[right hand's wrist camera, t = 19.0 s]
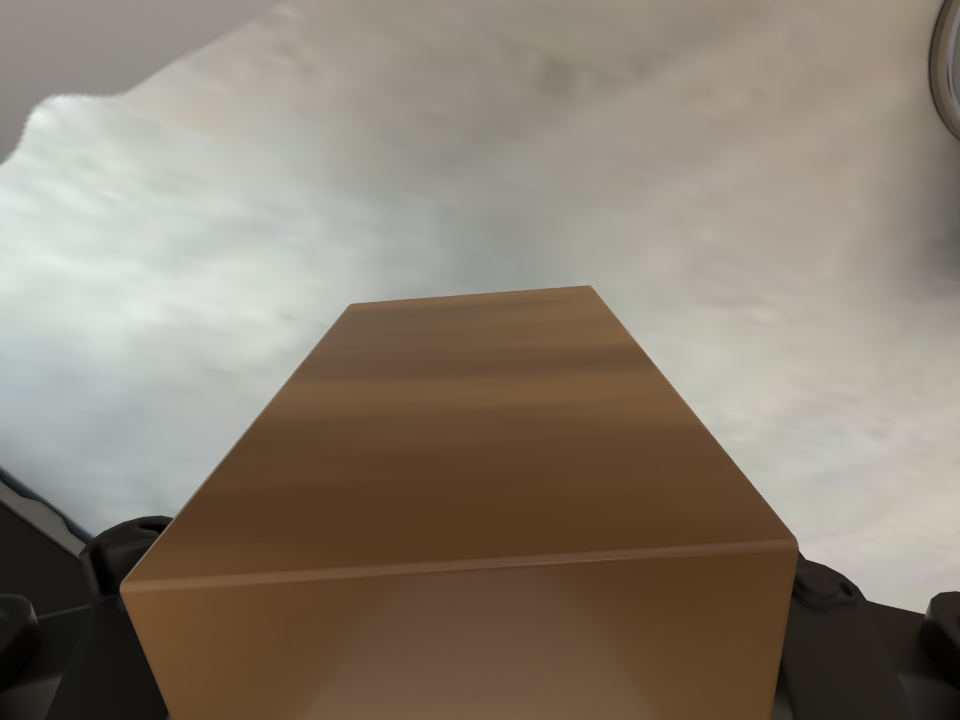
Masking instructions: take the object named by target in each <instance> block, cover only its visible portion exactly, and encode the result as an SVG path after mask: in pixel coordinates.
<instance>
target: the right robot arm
mask: <svg viewBox="0 0 960 720" xmlns="http://www.w3.org/2000/svg"><path fill="white" fill-rule="evenodd" d="M931 84H932V90H933V95H934V99H935V103H936V106H937V108H938V110H939V113H940V115H941V117H942V119H943V120H944V122H945V124H946V125H947V126H948V128H949V129H950V131H951V132H952V133H953V134H954V135H955V136H956V137H957V138H958V139H960V0H947V1H946V3H945V5H944V8H943V10H942V13H941V15H940V18H939V21H938V25H937V28H936V31H935V36H934V41H933V46H932V54H931ZM173 519H174V518H170V517H165V516H149V517H141V518H137V519H134V520H130V521H126V522H123V523H121V524H118V525H116V526H114V527H112V528H110V529H108V530H106V531H104V532H102V533H101V534H99V535H98V536H97V537H95V538H94V539H92V540H91V541H90V542H88V543H87V545H86V546H85V547H84V549H83V550H82V551H81V552H80V554H79V558H80V561H81V564H82V567H83V570H84V573H85V576H86V579H87V582H88V585H89V588H90V591H91V595H92V598H93V603H91V604H88V605H84V606H80V607H76V608H71V609H67V610H63V611H58V612H54V613H50V614H45V615H41V616H36V615H35V612H34V610H33V607H32V604H31V602H30V601H29V600H28V599H26V598H25V597H24V596H22V595H16V594H0V720H172V719H171V717H170V714H169V712H168V709H167V707H166V705H165V702H164V700H163V697H162V695H161V692H160V690H159V687H158V685H157V683H156V680H155V678H154V675H153V673H152V670H151V668H150V665H149V663H148V661H147V658H146V656H145V653H144V651H143V648H142V646H141V643H140V641H139V639H138V636H137V634H136V631H135V629H134V626H133V624H132V621H131V619H130V617H129V614H128V612H127V609H126V607H125V604H124V602H123V599H122V597H121V595H120V585H121V582H122V581H123V580H124V578H125V577H126V576H127V575H128V574H129V572H130V571H131V570H132V569H133V567H134V566H135V565H136V564H137V563H138V561H139V560H140V559H141V558H142V557H143V555H144V554H145V553H146V552H147V550H148V549H149V548H150V547H151V546H152V544H153V543H154V542H155V541H156V540H157V538H158V537H159V536H160V535H161V533H162V532H163V531H164V530H165V529H166V527H167V526H168V525H169V524H170V522H171V521H172V520H173ZM771 720H960V592H957V591H954V592H943V593H939V594H938V595H936V596H935V597H933V598H932V599H931V601H930V603H929V606H928V609H927V611H926V614H921V613H917V612H912V611H908V610H903V609H899V608H895V607H890V606H886V605H881V604H877V603H874V602H870V601H867V600H866V599H865V597H864V596H863V594H862V593H861V591H860V590H859V588H858V587H857V586H856V585H855V584H853V583H852V582H851V581H850V580H849V579H847V578H846V577H845V576H844V575H842V574H840V573H838V572H837V571H835V570H833V569H831V568H829V567H827V566H825V565H822V564H819V563H816V562H812V561H809V560H806V559H805V558H804V556H803V555H802V554H801V553H800V551H799V552H798V558H797V564H796V570H795V576H794V582H793V588H792V594H791V600H790V606H789V612H788V618H787V624H786V630H785V637H784V643H783V649H782V655H781V661H780V667H779V673H778V679H777V685H776V691H775V697H774V703H773V709H772V715H771Z"/></svg>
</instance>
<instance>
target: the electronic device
mask: <svg viewBox="0 0 960 720" xmlns="http://www.w3.org/2000/svg"><path fill="white" fill-rule="evenodd" d="M85 546H86V544H85V543H83V542H82V541H81V540H79V539H78V538H76V537H75V536H74V535H72V534H71V533H70V532H69V531H68V529H67V527H66V525H65V523H64V521H63V519H62V518H61V517H60V516H59V515H57V514H56V513H55V512H53V511H52V510H51V509H49V508H48V507H47V506H45V505H44V504H43V503H41V502H39V501H35V500H32V499H28V498H24V497H21V496H20V495H18V494H17V493H15V492H14V491H13V490H11V489H10V488H9V487H7V486H6V485H5V484H3V483H2V482H1V480H0V594H16V595H22V596H24V597H25V598H26V599H28V600H29V601H30V602H31V604H32V607H33V610H34V612H35V615H36V616H41V615H45V614H50V613H54V612H58V611H63V610H67V609H71V608H76V607H80V606H84V605H88V604H91V603H93V598H92V595H91V591H90V588H89V585H88V582H87V579H86V576H85V573H84V570H83V567H82V564H81V561H80V558H79V554H80V552H81V551H82V550H83V549H84V547H85Z"/></svg>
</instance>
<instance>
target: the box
mask: <svg viewBox="0 0 960 720" xmlns="http://www.w3.org/2000/svg"><path fill="white" fill-rule="evenodd" d="M798 552H799V546H798V542H797V540H796V538H795V536H794V535H793V534H792V533H791V531H790V530H789V529H788V528H787V527H786V525H785V524H784V523H783V522H782V520H781V519H780V518H779V517H778V515H777V514H776V513H775V512H774V511H773V509H772V508H771V507H770V506H769V504H768V503H767V502H766V501H765V499H764V498H763V497H762V496H761V495H760V493H759V492H758V491H757V490H756V488H755V487H754V486H753V485H752V483H751V482H750V481H749V480H748V479H747V477H746V476H745V475H744V474H743V472H742V471H741V470H740V469H739V467H738V466H737V465H736V464H735V463H734V461H733V460H732V459H731V458H730V456H729V455H728V454H727V453H726V452H725V450H724V449H723V448H722V447H721V445H720V444H719V443H718V442H717V440H716V439H715V438H714V437H713V436H712V434H711V433H710V432H709V431H708V429H707V428H706V427H705V426H704V424H703V423H702V422H701V421H700V420H699V418H698V417H697V416H696V415H695V413H694V412H693V411H692V410H691V408H690V407H689V406H688V405H687V404H686V402H685V401H684V400H683V399H682V397H681V396H680V395H679V394H678V392H677V391H676V390H675V389H674V388H673V386H672V385H671V384H670V383H669V381H668V380H667V379H666V378H665V376H664V375H663V374H662V373H661V372H660V370H659V369H658V368H657V367H656V365H655V364H654V363H653V362H652V360H651V359H650V358H649V357H648V356H647V354H646V353H645V352H644V351H643V349H642V348H641V347H640V346H639V344H638V343H637V342H636V341H635V340H634V338H633V337H632V336H631V335H630V333H629V332H628V331H627V330H626V328H625V327H624V326H623V325H622V324H621V322H620V321H619V320H618V319H617V317H616V316H615V315H614V314H613V312H612V311H611V310H610V309H609V308H608V306H607V305H606V304H605V303H604V301H603V300H602V299H601V298H600V297H599V295H598V294H597V293H596V292H595V290H594V289H593V288H592V287H591V286H576V287H563V288H550V289H537V290H524V291H511V292H498V293H486V294H473V295H460V296H447V297H434V298H421V299H408V300H395V301H382V302H369V303H356V304H350V305H349V306H348V307H347V308H346V310H345V311H344V312H343V313H342V315H341V316H340V317H339V318H338V319H337V321H336V322H335V323H334V324H333V325H332V327H331V328H330V329H329V330H328V332H327V333H326V334H325V335H324V336H323V338H322V339H321V340H320V341H319V343H318V344H317V345H316V346H315V347H314V349H313V350H312V351H311V352H310V353H309V355H308V356H307V357H306V358H305V360H304V361H303V362H302V363H301V364H300V366H299V367H298V368H297V369H296V370H295V372H294V373H293V374H292V375H291V377H290V378H289V379H288V380H287V381H286V383H285V384H284V385H283V386H282V388H281V389H280V390H279V391H278V392H277V394H276V395H275V396H274V397H273V398H272V400H271V401H270V402H269V403H268V405H267V406H266V407H265V408H264V409H263V411H262V412H261V413H260V414H259V415H258V417H257V418H256V419H255V420H254V422H253V423H252V424H251V425H250V426H249V428H248V429H247V430H246V431H245V433H244V434H243V435H242V436H241V437H240V439H239V440H238V441H237V442H236V443H235V445H234V446H233V447H232V448H231V450H230V451H229V452H228V453H227V454H226V456H225V457H224V458H223V459H222V460H221V462H220V463H219V464H218V465H217V467H216V468H215V469H214V470H213V471H212V473H211V474H210V475H209V476H208V478H207V479H206V480H205V481H204V482H203V484H202V485H201V486H200V487H199V488H198V490H197V491H196V492H195V493H194V495H193V496H192V497H191V498H190V499H189V501H188V502H187V503H186V504H185V505H184V507H183V508H182V509H181V510H180V512H179V513H178V514H177V515H176V516H175V518H174V519H173V520H172V521H171V522H170V524H169V525H168V526H167V527H166V529H165V530H164V531H163V532H162V533H161V535H160V536H159V537H158V538H157V540H156V541H155V542H154V543H153V544H152V546H151V547H150V548H149V549H148V550H147V552H146V553H145V554H144V555H143V557H142V558H141V559H140V560H139V561H138V563H137V564H136V565H135V566H134V567H133V569H132V570H131V571H130V572H129V574H128V575H127V576H126V577H125V578H124V580H123V581H122V582H121V585H120V595H121V597H122V599H123V602H124V604H125V607H126V609H127V612H128V614H129V617H130V619H131V621H132V624H133V626H134V629H135V631H136V634H137V636H138V639H139V641H140V643H141V646H142V648H143V651H144V653H145V656H146V658H147V661H148V663H149V665H150V668H151V670H152V673H153V675H154V678H155V680H156V683H157V685H158V687H159V690H160V692H161V695H162V697H163V700H164V702H165V705H166V707H167V709H168V712H169V714H170V717H171V719H172V720H771V715H772V709H773V703H774V697H775V691H776V685H777V679H778V673H779V667H780V661H781V655H782V649H783V643H784V637H785V630H786V624H787V618H788V612H789V606H790V600H791V594H792V588H793V582H794V576H795V570H796V564H797V558H798Z"/></svg>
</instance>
